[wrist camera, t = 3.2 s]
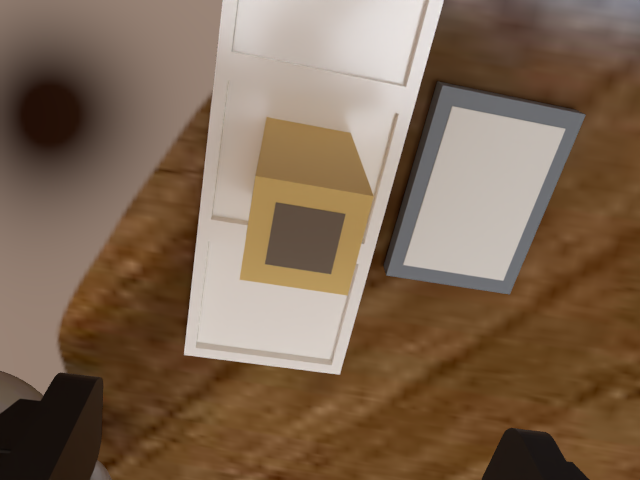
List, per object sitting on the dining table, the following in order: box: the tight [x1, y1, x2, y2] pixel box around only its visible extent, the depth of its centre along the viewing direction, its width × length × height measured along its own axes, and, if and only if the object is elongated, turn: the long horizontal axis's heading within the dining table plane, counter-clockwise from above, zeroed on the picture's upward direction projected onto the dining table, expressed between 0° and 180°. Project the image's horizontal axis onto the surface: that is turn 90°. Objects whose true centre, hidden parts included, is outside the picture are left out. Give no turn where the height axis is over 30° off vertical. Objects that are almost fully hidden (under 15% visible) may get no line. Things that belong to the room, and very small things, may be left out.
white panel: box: [184, 229, 373, 375], centre depth 29 cm, size 8×9×1 cm
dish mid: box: [198, 64, 415, 256], centre depth 25 cm, size 8×9×1 cm
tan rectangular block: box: [239, 117, 374, 296], centre depth 22 cm, size 4×4×8 cm
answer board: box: [384, 81, 586, 294], centre depth 27 cm, size 10×7×1 cm
